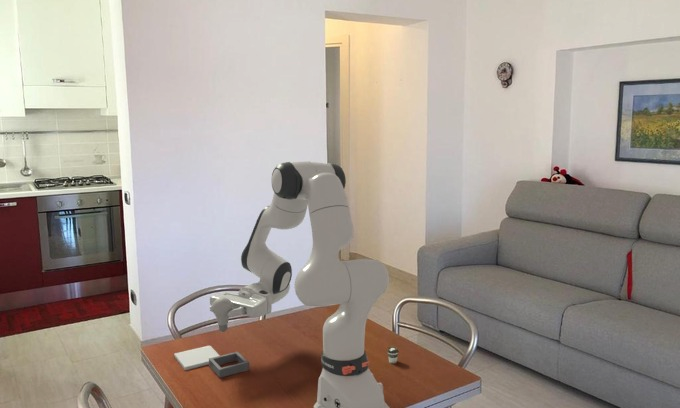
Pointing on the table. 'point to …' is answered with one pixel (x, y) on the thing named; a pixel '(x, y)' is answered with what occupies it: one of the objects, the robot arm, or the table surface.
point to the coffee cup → (392, 354)
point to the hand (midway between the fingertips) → (220, 311)
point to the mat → (195, 357)
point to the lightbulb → (222, 312)
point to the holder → (229, 370)
